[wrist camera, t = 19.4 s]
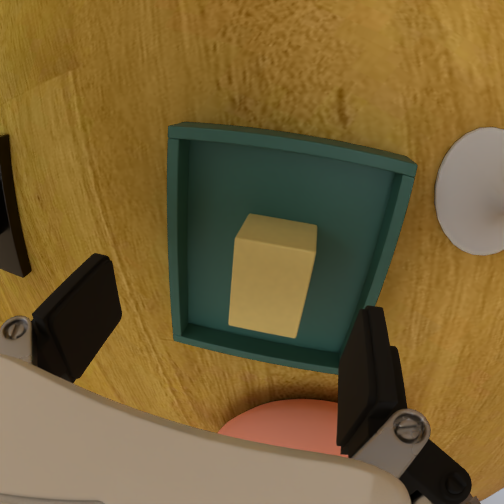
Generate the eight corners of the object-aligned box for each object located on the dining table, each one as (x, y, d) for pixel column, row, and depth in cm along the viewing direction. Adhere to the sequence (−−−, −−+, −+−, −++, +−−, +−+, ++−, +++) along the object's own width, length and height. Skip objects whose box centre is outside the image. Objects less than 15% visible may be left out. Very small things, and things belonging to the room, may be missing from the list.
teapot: (371, 323, 19) (382, 524, 8) (457, 415, 22) (475, 536, 11) (179, 422, 29) (136, 524, 18) (284, 478, 32) (265, 566, 21)
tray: (183, 121, 15) (167, 125, 14) (407, 156, 14) (418, 164, 12) (183, 322, 22) (173, 340, 20) (345, 355, 20) (345, 376, 18)
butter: (248, 212, 16) (234, 237, 14) (317, 224, 16) (316, 252, 13) (241, 292, 19) (227, 325, 16) (300, 304, 18) (295, 339, 16)
